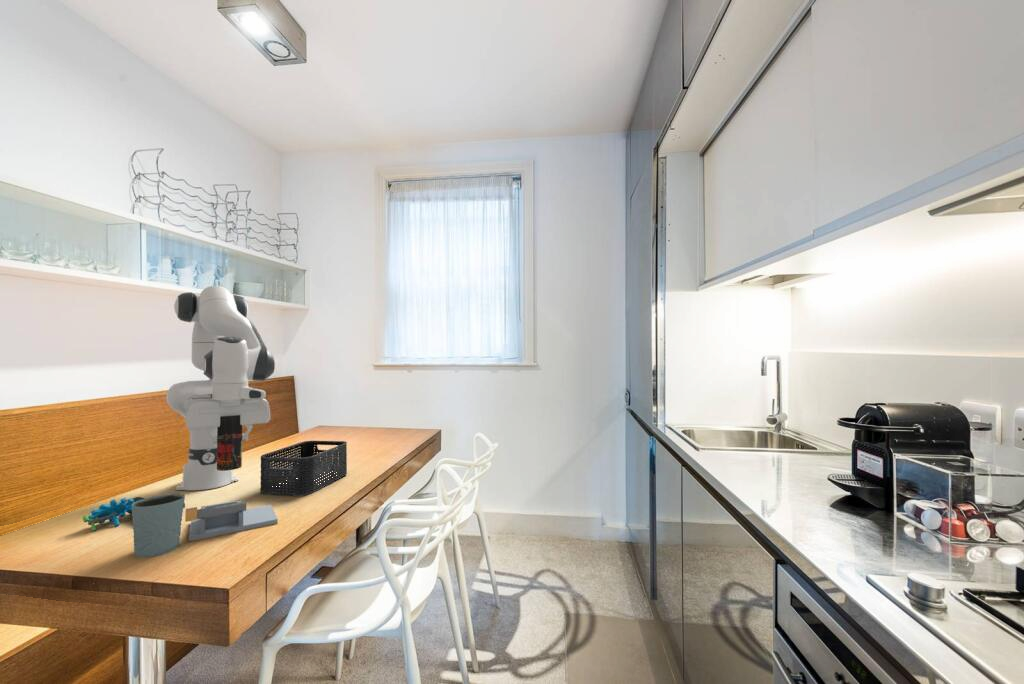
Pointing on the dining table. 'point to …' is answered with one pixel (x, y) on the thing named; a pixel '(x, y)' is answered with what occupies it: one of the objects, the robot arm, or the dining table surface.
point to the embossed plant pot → (157, 524)
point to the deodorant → (229, 443)
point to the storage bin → (302, 468)
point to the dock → (231, 521)
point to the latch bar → (213, 511)
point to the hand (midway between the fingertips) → (229, 441)
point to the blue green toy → (109, 512)
